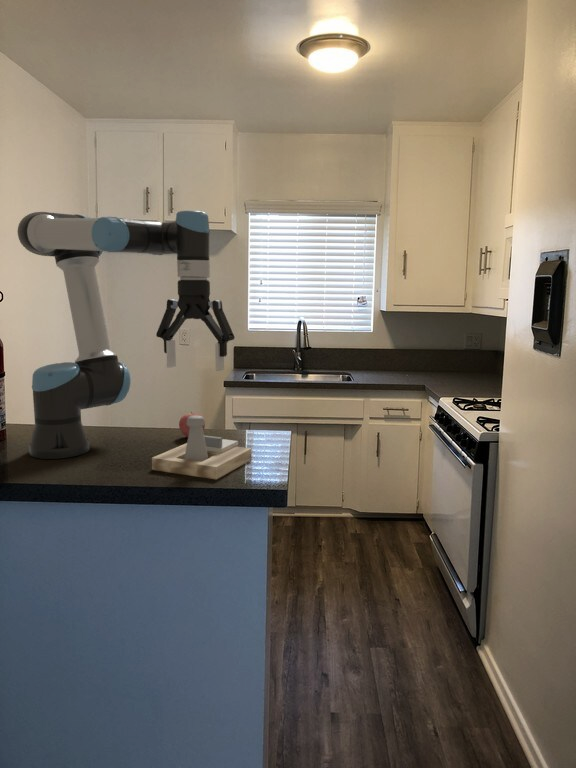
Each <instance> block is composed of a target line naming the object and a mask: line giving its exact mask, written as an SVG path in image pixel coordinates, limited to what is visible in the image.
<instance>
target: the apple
mask: <svg viewBox="0 0 576 768" xmlns="http://www.w3.org/2000/svg"><path fill="white" fill-rule="evenodd" d="M195 415H198V416H202V415H201V414H200V413H196V412H195V413H193V412H192V411H190V413H186V414H184V415H182V417H180V419H179V422H178V427H179V431H180V432H181V434H182V435H183V436H184V437H186V438H188V435H189V430H190V427H189V426H188V425H187V418H188V417H190V416H195ZM202 427H203V432H204V431H205V428H206V423H205V424H204V426H202Z"/></svg>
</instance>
